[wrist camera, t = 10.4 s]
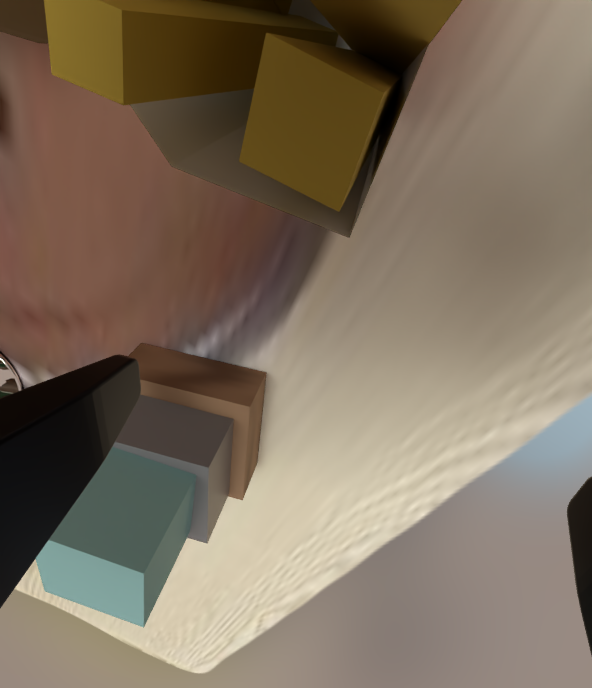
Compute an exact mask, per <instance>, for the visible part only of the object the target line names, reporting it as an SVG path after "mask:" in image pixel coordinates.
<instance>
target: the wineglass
mask: <svg viewBox="0 0 592 688" xmlns="http://www.w3.org/2000/svg"><path fill="white" fill-rule="evenodd" d="M20 390H22V385H21V382H20V380H19V377H18V375H17V374H16V372H15V370H14V369H13V367H12V366H11V365H10V363H9V362H8V361H7V360H6V358H5V357H4V356H3V355H2V354H1V353H0V398H2V397H4V396H7V395H10V394H12V393H15V392H18V391H20Z"/></svg>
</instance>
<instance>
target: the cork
mask: <svg viewBox="0 0 592 688" xmlns="http://www.w3.org/2000/svg"><path fill="white" fill-rule="evenodd" d="M0 31H1V32H4V33H7V34H11V35H14V36H17V37H21V38H24V39H27V40H31V41H34V42H37V43H48V34H47V24H46V15H45V5H44V0H0Z"/></svg>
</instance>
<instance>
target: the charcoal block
mask: <svg viewBox="0 0 592 688" xmlns="http://www.w3.org/2000/svg"><path fill="white" fill-rule="evenodd" d="M233 423H234V419H232V418H228V417H224V416H220V415H217V414H213V413H209V412H205V411H201V410H198V409H194V408H190V407H186V406H182V405H178V404H175V403H171V402H167V401H163V400H159V399H156V398H152V397H148V396H144V395H140V397H139V400H138V402H137V403H136V405H135V407H134V409H133V411H132V412H131V414H130V416H129V418H128V420H127V421H126V423H125V425H124V427H123V429H122V430H121V432H120V434H119V436H118V438H117V440H116V441H115V443H114V445H113V447H115V448H118V449H121V450H123V451H126V452H129V453H132V454H135V455H138V456H141V457H144V458H147V459H150V460H153V461H156V462H159V463H162V464H165V465H168V466H171V467H174V468H177V469H180V470H183V471H186V472H189V473H192V474H195V475H196V484H195V493H194V501H193V510H192V519H191V528H190V532H189V534H188V537H187V538H191V539H194V540H197V541H201V542H204V543H208V541H209V538H210V536H211V534H212V531H213V529H214V527H215V524H216V522H217V520H218V518H219V515H220V513H221V511H222V508H223V506H224V504H225V501H226V499H227V497H228V494H229V486H230V471H231V455H232V439H233Z"/></svg>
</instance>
